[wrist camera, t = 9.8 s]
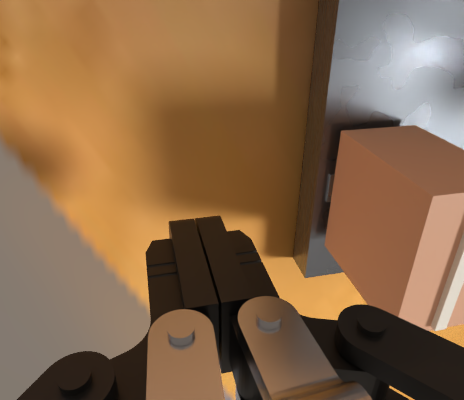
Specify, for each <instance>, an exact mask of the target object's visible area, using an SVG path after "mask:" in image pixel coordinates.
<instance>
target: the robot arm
mask: <svg viewBox="0 0 464 400" xmlns="http://www.w3.org/2000/svg"><path fill="white" fill-rule="evenodd" d="M169 235H170V239H163V240H155V241H152V242H151V244H150V246H149V248H148V249H147V251H146V264H147V276H148V289H149V302H150V315H151V324H150V328H149V330H148V333H147V334H146V336H145V337H144V338H143V340H142V341H141V342H140V343H139V344H137V345H136V346H135V347H134V348H132V349H131V350H129V351H127V352H125V353H123V354H121V355H119V356H116V357H114V358H112V359H110V360H109V359H108V358H107V357H106V356H104V355H102V354H100V353H97V352H92V351H83V352H77V353H73V354H70V355H68V356H65V357H63V358H62V359H60V360H58V361H57V362H55V363H54V364H53V365H51V366H50V367H49V368H48V369H47V370H46V371H45V372H44V373H43V374H42V375H41V376H40V377H39V378H38V379H37V380H36V381H35V382H34V383H33V384H32V385H31V386H30V387H29V388H28V389H27V390H26V391H25V392H24V393H23V394H22V395H21V396H20V397H19V398H18V399H17V400H225V398H224V391H223V385H222V378H221V373H226V372H231V371H232V372H233V376H234V379H235V383H236V400H409V399H408V398H406V397H404V396H402V395H401V394H399V393H397V392H395V391H394V390H392V389H390V388H389V386H392V387H394V388H395V389H397V390H399V391H401V392H402V393H404V394H406V395H408V396H410V397H411V398H413V399H415V400H464V348H463V347H461V346H459V345H457V344H455V343H453V342H451V341H449V340H446V339H444V338H442V337H440V336H438V335H436V334H434V333H431V332H429V331H427V330H425V329H423V328H421V327H419V326H416V325H414V324H412V323H410V322H408V321H406V320H404V319H401V318H399V317H397V316H395V315H393V314H391V313H389V312H387V311H384V310H382V309H380V308H377V307H374V306H370V305H353V306H350V307H347V308H345V309H344V310H343V311H342V312H341V313H340V315H339V317H338V320H327V319H317V318H309V317H306V316H302V315H300V314H299V313H298V312H297V310H296V309H295V308H294V307H293V306H292V305H291V304H290V303H288V302H287V301H285V300H283V299H280V298H279V296H278V293H277V291H276V289H275V287H274V285H273V283H272V281H271V279H270V277H269V275H268V273H267V271H266V269H265V267H264V265H263V263H262V262H261V259H260V256H259V254H258V253H257V250H256V248H255V246H254V244H253V242H252V240H251V239H250V238H249V237H248V236H246V235H245V234H244V233H243V232H241V231H240V230H236V231H228V232H227V231H226V228H225V226H224V224H223V221H222V219H221V217H220V216H212V217H203V218H195V221H194V219H186V220H177V221H169ZM219 365H220V366H219ZM220 369H221V372H220Z"/></svg>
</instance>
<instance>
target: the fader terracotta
mask: <svg viewBox="0 0 464 400" xmlns="http://www.w3.org/2000/svg"><path fill="white" fill-rule="evenodd" d="M325 247H326V248H327V250H328V251H329V252H330V254H331V255H332V256H333V258H334V259H335V260H336V262H337V263H338V265H339V266H340V267H341V269H342V270H343V271H344V273H345V274H346V275H347V277H348V278H349V279H350V281H351V282H352V284H353V285H354V286H355V288H356V289H357V290H358V292H359V293H360V294H361V296H362V297H363V299H364V300H365V301H366V303H367V304H368V305H370V306H374V307H377V308H380V309H382V310H384V311H387V312H389V313H391V314H393V315H395V316H397V317H399V318H401V319H404V320H406V321H408V322H410V323H412V324H414V325H416V326H419V327H421V328H423V329H425V330H427V331H430V330H434V331H437V330H443V329H446V328H447V327H451V326H456V325H461V324H464V149H462V148H460V147H458V146H456V145H454V144H452V143H450V142H448V141H446V140H444V139H442V138H440V137H438V136H436V135H434V134H432V133H430V132H428V131H426V130H424V129H422V128H420V127H418V126H416V125H411V126H398V127H384V128H371V129H358V130H344V131H341V135H340V142H339V149H338V156H337V163H336V169H335V176H334V183H333V190H332V197H331V204H330V211H329V217H328V224H327V231H326V238H325Z"/></svg>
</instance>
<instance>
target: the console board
mask: <svg viewBox="0 0 464 400" xmlns="http://www.w3.org/2000/svg"><path fill="white" fill-rule="evenodd" d="M411 125H416V126H418V127H420V128H422V129H424V130H426V131H428V132H430V133H432V134H434V135H436V136H438V137H440V138H442V139H444V140H446V141H448V142H450V143H452V144H454V145H456V146H458V147H460V148H462V149H464V0H319V7H318V17H317V27H316V37H315V47H314V57H313V67H312V77H311V87H310V97H309V106H308V116H307V126H306V136H305V146H304V156H303V166H302V176H301V186H300V196H299V206H298V216H297V225H296V235H295V245H294V255H293V258H294V260H295V262H296V264H297V265H298V267H299V269H300V270H301V272H302V274H303V275H304V277H305V278H308V277H315V276H322V275H328V274H335V273H341V272H344V271H343V270H342V269H341V267H340V266H339V265H338V263H337V262H336V260H335V259H334V258H333V256H332V255H331V254H330V252H329V251H328V250H327V248H326V247H325V238H326V231H327V224H328V217H329V211H330V204H331V197H332V190H333V183H334V176H335V169H336V163H337V156H338V149H339V142H340V135H341V131H344V130H358V129H371V128H384V127H398V126H411Z"/></svg>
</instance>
